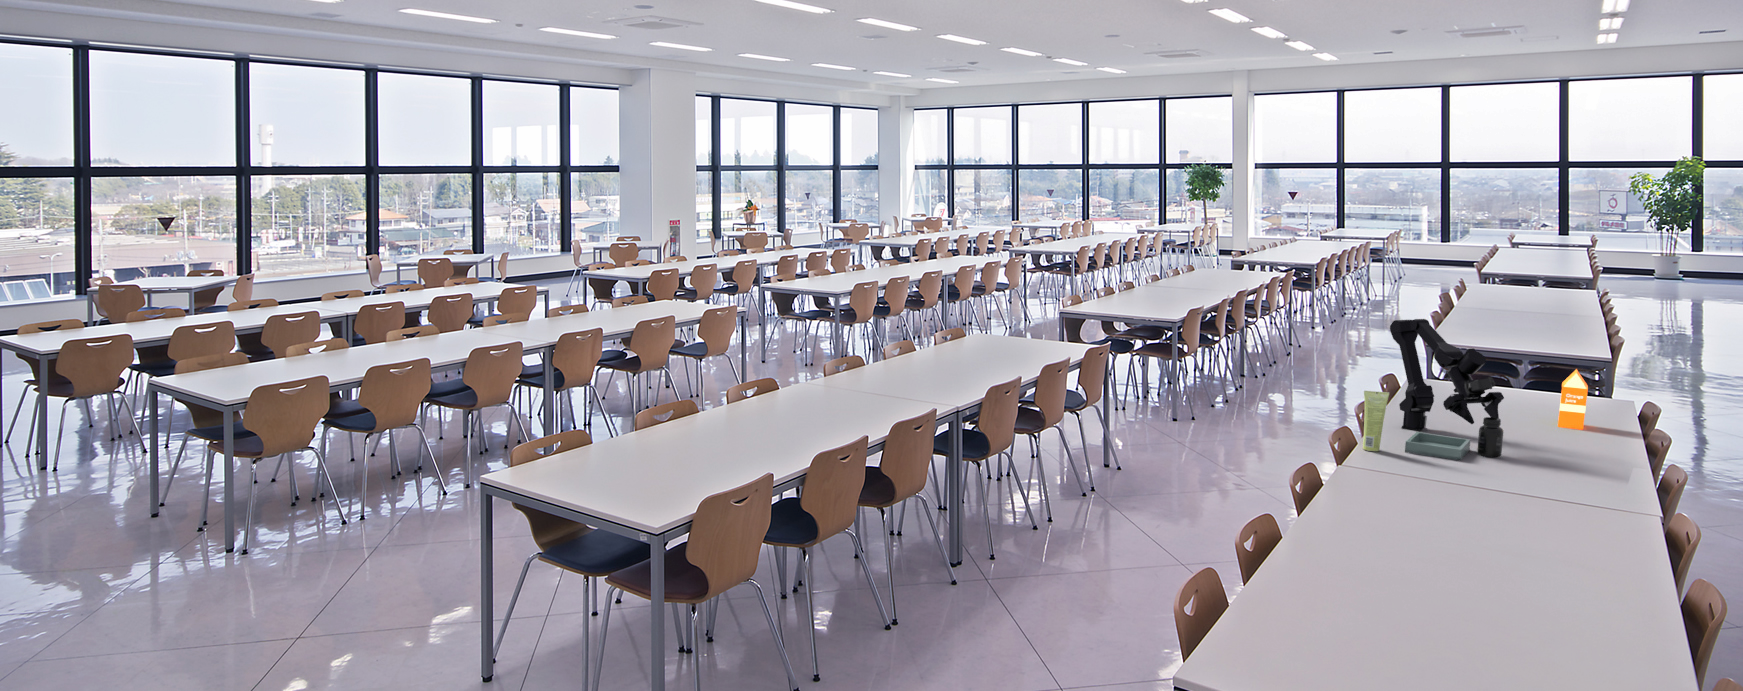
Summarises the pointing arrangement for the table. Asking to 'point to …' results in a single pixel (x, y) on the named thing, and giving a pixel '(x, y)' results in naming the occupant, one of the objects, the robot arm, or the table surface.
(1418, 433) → the tray
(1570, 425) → the orange juice
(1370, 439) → the tube
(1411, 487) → the table surface
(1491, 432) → the supplement bottle
